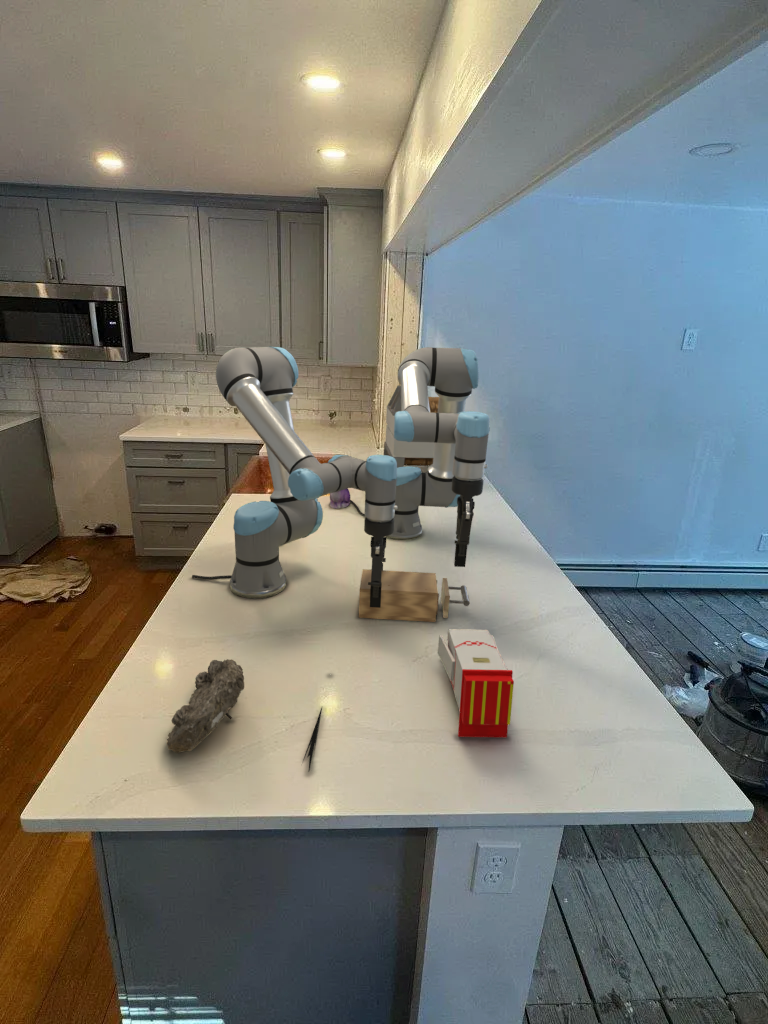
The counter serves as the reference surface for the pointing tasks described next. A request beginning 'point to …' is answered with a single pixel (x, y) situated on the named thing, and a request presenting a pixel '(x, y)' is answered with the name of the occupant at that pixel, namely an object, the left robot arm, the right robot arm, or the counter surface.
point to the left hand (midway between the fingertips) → (376, 595)
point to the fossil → (206, 705)
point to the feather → (313, 740)
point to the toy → (478, 682)
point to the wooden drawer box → (401, 596)
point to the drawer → (446, 597)
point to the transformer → (402, 449)
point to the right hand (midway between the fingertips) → (459, 565)
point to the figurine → (340, 499)
